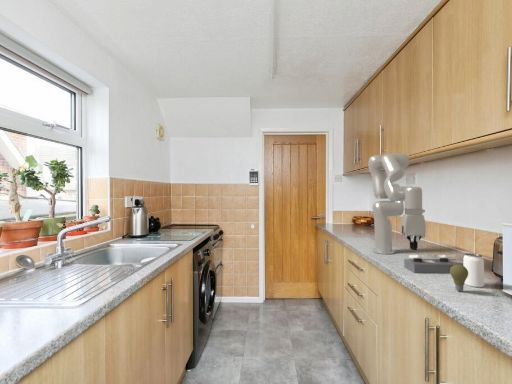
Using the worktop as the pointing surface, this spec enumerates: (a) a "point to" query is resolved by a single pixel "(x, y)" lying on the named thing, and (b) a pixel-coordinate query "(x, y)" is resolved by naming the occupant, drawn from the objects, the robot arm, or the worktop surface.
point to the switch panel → (430, 265)
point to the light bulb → (459, 276)
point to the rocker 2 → (443, 256)
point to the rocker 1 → (417, 256)
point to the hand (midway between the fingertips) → (413, 249)
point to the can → (474, 270)
